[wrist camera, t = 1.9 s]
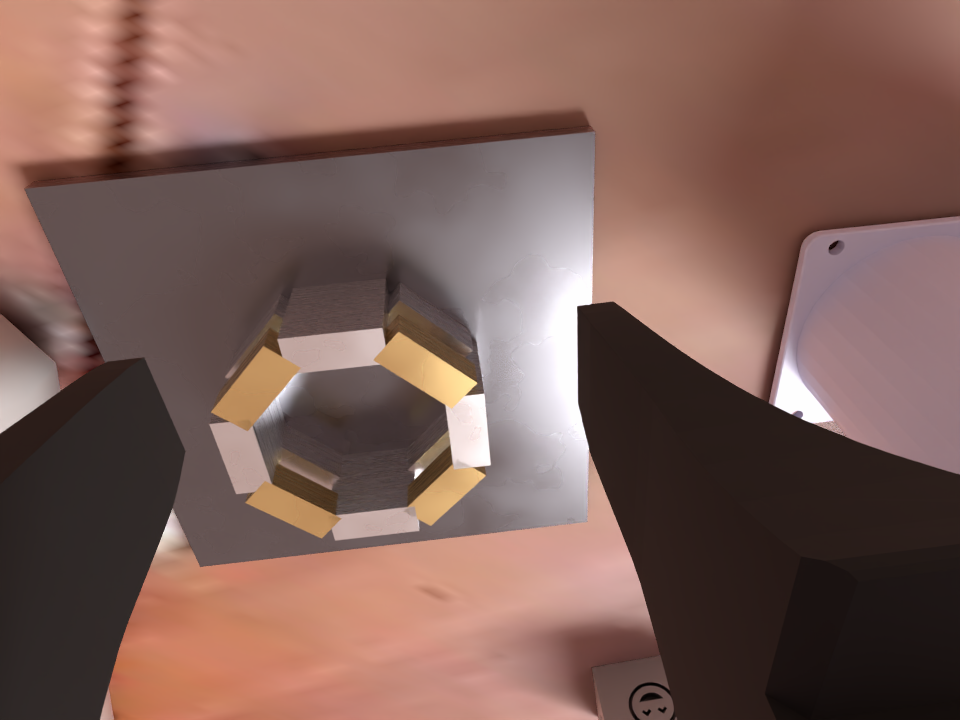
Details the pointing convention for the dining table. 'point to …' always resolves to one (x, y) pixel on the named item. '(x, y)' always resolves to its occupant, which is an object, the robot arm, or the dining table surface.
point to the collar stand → (350, 334)
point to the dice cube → (633, 691)
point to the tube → (27, 393)
